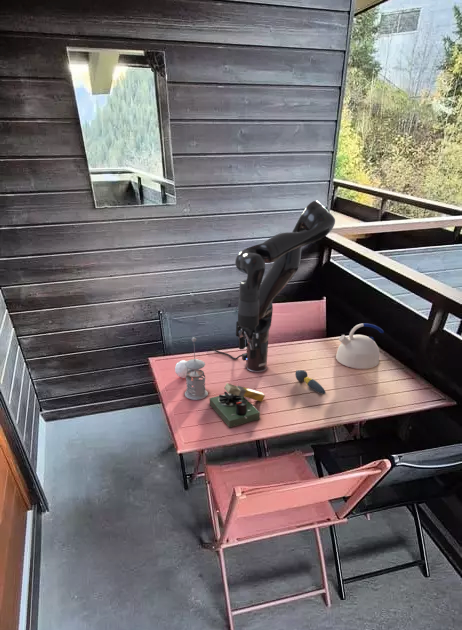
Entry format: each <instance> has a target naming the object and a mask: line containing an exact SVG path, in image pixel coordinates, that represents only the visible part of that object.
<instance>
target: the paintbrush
mask: <svg viewBox="0 0 462 630" xmlns="http://www.w3.org/2000/svg"><path fill="white" fill-rule="evenodd" d="M295 378H296V380H297V381H298V382H300V383H303V382H304V383H305V384H306V386H307V387H308V388H310V389H311V390H313V391H314V392H316V393H318V394H320V395H326V389H325V388H324V387H323V386H322V384H320V383H319V382H318V381H317V380H315V379H314V378H311V377H308V373H307V371H306V370H303V369H297V370H296V371H295Z"/></svg>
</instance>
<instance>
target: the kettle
mask: <svg viewBox="0 0 462 630" xmlns="http://www.w3.org/2000/svg"><path fill="white" fill-rule="evenodd" d="M362 327H365V328H367V327H368V328H371V329H374V330H377V331H378V332H379V333H380V334H384V333H385V331H384V330H383V329H382V328H381V327H380V326H378V325H375V324H373V323H367V322H366V323H364V322H363V323H359V324H356V325H355V326H353V328H351V329H350V331H349V333H348V337H347V336H346V335H345V334H341V336H339V337H338V341H339V342H340V344H339V346H338V347H337V352H336V354H335V359H336V361H337V362H338V363H339V364H341V365H342V366H345V367H348V368H351V369H357V370H368V369H372V368H374V367H376V366H378V365H379V363H380V355H381V354H380V353H381V352H380V348H379V346H378V344H377V343H376V341H375V338H374V337H373V336H367V335H364V334H355V332H356V331H357V330H358V329H360V328H362Z"/></svg>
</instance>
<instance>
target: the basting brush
mask: <svg viewBox="0 0 462 630" xmlns="http://www.w3.org/2000/svg"><path fill="white" fill-rule="evenodd" d="M223 388H224V390H225V392H227V393H230V394H234V395H237V396H241V397H245V398H246V399H247V398H248V399H251V400H254V401H257V402H261V403H262V402H263V401H264V399H265V398H266V395H265V394H264V393H263V392H261V391H258V390H255V389H252V388H248V387H244V386H241V385H235V384H232V383H229V382H226V384H225V385H224V387H223Z"/></svg>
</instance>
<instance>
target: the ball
mask: <svg viewBox="0 0 462 630" xmlns="http://www.w3.org/2000/svg"><path fill="white" fill-rule="evenodd" d="M187 361H188V360H185V359H183V360H179V361H178V362H177V363H176V364H175V367H174V372H175V374H176V375H177V376H178V377H179V378H182V379H186V375H187V374H186V373H187V367H186V366H185V363H186V362H187ZM189 370H192V369H189V368H188V371H189Z"/></svg>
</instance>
